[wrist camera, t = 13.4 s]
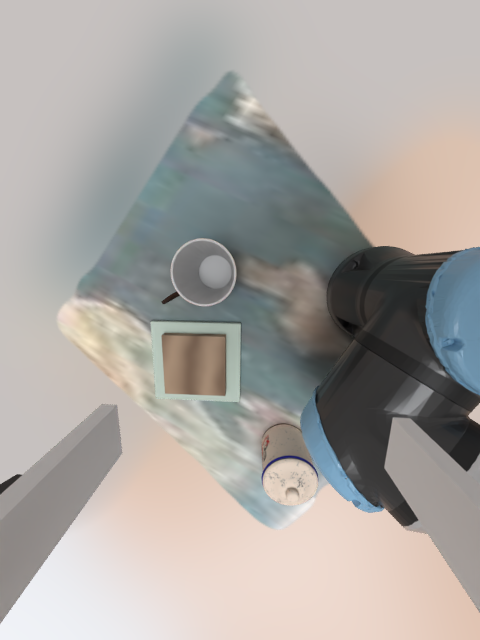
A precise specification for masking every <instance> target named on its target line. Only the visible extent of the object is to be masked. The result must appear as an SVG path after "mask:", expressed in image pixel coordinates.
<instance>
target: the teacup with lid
mask: <svg viewBox="0 0 480 640" xmlns="http://www.w3.org/2000/svg"><path fill="white" fill-rule="evenodd" d="M262 464H263V473H262V484H263V487H264V490H265V491H266V493H267V494H268V496H269V497H270V498H271V499H273V500H274V501H276V502H278V503H280V504H283V505H299V504H302V503H304V502H306V501H308V500H309V499H310V498H312V497H313V495H314V494H315V492H316V490H317V487H318V474H317V471H316V469H315V468H314V466H313V463H312V460H311V456H310V454H309V452H308V449H307V447H306V445H305V442H304V439H303V436H302V432H301V431H300V430H298V429H297V428H295V427H293V426H291V425H285V424H282V425H276V426H274V427H272V428H270V429H269V430H267V432H266V433H265V434H264V436H263V438H262Z"/></svg>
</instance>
